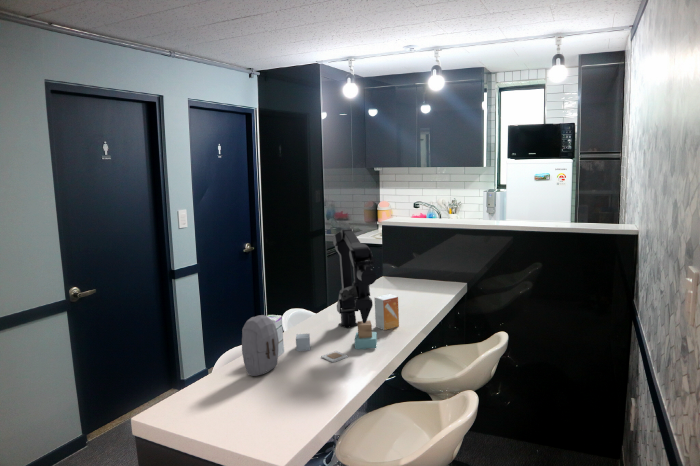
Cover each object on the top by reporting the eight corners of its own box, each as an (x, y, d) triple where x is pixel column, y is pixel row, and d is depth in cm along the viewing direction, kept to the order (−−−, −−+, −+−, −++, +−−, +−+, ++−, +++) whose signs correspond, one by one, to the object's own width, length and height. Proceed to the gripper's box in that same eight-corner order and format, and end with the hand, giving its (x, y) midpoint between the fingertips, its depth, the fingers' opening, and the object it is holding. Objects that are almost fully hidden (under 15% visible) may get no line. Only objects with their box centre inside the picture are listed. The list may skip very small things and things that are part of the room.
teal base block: (356, 342, 201) (356, 332, 200) (377, 341, 200) (376, 331, 199) (355, 349, 193) (354, 339, 192) (376, 349, 192) (375, 339, 191)
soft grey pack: (268, 362, 184) (264, 308, 182) (287, 365, 180) (283, 310, 177) (240, 378, 172) (234, 321, 169) (259, 382, 167) (254, 324, 165)
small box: (384, 330, 211) (383, 300, 209) (375, 327, 216) (373, 297, 215) (399, 326, 216) (398, 296, 214) (390, 322, 221) (389, 293, 219)
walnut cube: (358, 333, 198) (357, 321, 198) (370, 332, 199) (370, 320, 198) (359, 338, 193) (358, 325, 193) (372, 337, 194) (371, 324, 193)
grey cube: (297, 346, 199) (296, 334, 198) (310, 345, 199) (309, 333, 198) (296, 351, 194) (295, 338, 193) (309, 350, 194) (309, 337, 193)
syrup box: (284, 351, 194) (282, 314, 192) (277, 357, 188) (274, 319, 186) (271, 350, 196) (268, 314, 194) (264, 356, 190) (261, 318, 188)
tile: (321, 357, 186) (321, 355, 186) (336, 352, 190) (336, 350, 190) (332, 362, 181) (332, 360, 181) (348, 357, 185) (348, 355, 185)
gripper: (339, 275, 202) (341, 313, 204) (340, 286, 184) (343, 328, 186) (367, 273, 202) (369, 311, 205) (371, 284, 184) (373, 326, 186)
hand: (363, 319), depth 195 cm, fingers open, 9 cm apart
